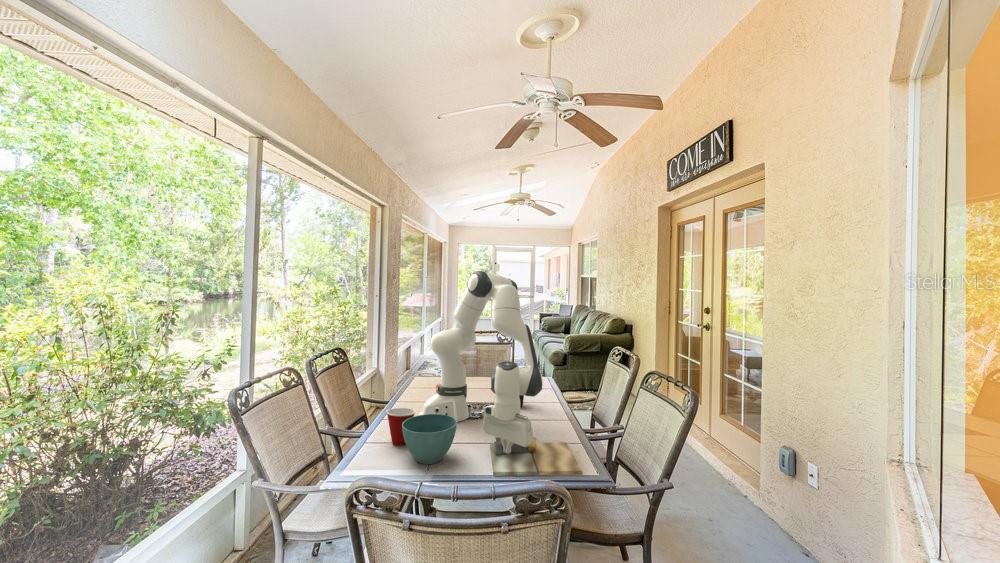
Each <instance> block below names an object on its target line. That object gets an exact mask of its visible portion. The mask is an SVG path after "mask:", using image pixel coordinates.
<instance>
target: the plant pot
mask: <svg viewBox="0 0 1000 563" xmlns="http://www.w3.org/2000/svg"><path fill="white" fill-rule="evenodd" d="M457 425H458V422H457V421H456V419H455V418H453V417H451V416H448V415H443V414H425V415H418V414H417V415H414V417H411V418H409V419H407V420H405V421H404V422H403V423H402V430H403V436H404V440H405V443H406V444H405V446H406V448H407V449H408V451H409V453H410V454H411V455H412V457H413V458H414V459H415V460H416V461H417V462H419V463H420V464H426V465H431V464H436V463H438V462H440V461H441V460H443V458H444V457H445V456H446V455H447V453H448V452H449V450H450V448H451V446H452V444H453V442H454V438H455V436H456V432H457Z"/></svg>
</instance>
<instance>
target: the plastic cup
mask: <svg viewBox="0 0 1000 563" xmlns="http://www.w3.org/2000/svg"><path fill="white" fill-rule="evenodd" d="M416 412H417V410H416V409H414V408H410V407H393V408H389V409H387V410H386V411H385V414H386V415H387V420H388V427H389V432H390V438H391V443H392V445H394V446H398V447H399V446H406V443H405V440H404V436H403V430H402V423H403V422H404V421H405V420H407V419H409V418H411V417H414V416H415V414H416Z"/></svg>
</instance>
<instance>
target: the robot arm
mask: <svg viewBox="0 0 1000 563" xmlns="http://www.w3.org/2000/svg"><path fill="white" fill-rule="evenodd" d="M466 286H467V287H465V290H464V291H463V293H462V295H461V297H460V299H459V301H458V303H457V305H456V308H455V310H454V312H453V317H454V321H455V322H454V325H453V327H452V328H449V329H445V330H440V331H439V332H437V333H435V334H434V335H432V336H431V339H430V348H431V351H432V352H433V354H435V355H436V356H437V358H438V361H439V366H440V383H439V382H438V383H436V384H435V387H436V390H435V391H436V392H435V394H433V395H432V396H431V397H429V398H428V399H427V400H426V401H425V402H424V404H423V408H422V410H421V411H420V412H418V414H417V416H418V415H425V414H443V415H448V416H451V417H453V418H455V419H456V421H457V423H458V422H461V421H464V420H467V419H468V418H469V417H470V413H469V409H468V402H467V397H468V384H467V367H466V365H465V364H464V363H463V361H462V358H461V353H463V352H466V351H468V350H470V349H472V348H473V347H474V346H475V344H476V341H477V337H476V329H477V324H478V323H479V320H480V317H481V316H482V314H483V312H484V309H485V307H486V305H487V302H488V301H489V302H490V301H491V323H492V326H493V328H494V329H495V331H496V332H498V333H499V334H501V335H502V336H505V337H508V338H510V339H513V340H514V341H517V342H518V343H520V345H521V346H522V349H523V352H524V353H523V354H524V357H525V358H524V359H525V363H526V367H519V365H518V363H516V362H514V361H511V360H510V361H509V360H507V361H500V362H498V363H497V364H496V366H495V369H494V371H493V372H492V373H491V374H490V382H491V383H490V385H491V386H490V387H491V388H490V391H492V393H493V394H494V396H495V397H494V403H492V404H490V405H486V406H484V407H483V413H484V415H483V419H482V420H483V422H482V423H483V424H482V425H483V426H482V427H483V431H484V433H486V434H487V435H490V436H493V437H495V438H496V437H498V438H501V443H502V445H503V451H504V452H505V453H507V454H509V453H511V447H512V445H513V443H515V444H518V445H520V446H523V447H527V446H530V445H531V444H532V443H533V437H534V436H533V429H532V427H533V426H532V421H531V420H530V419H529V417H528V416H526V415H525V416H524V415H522V414H521V408H520V398H519V395H524V397H534V398H535V397H536V396H537V395H538V394H540V393H541V392H542V390H543V385H544V382H543V377H542V373H541V370H540V368H539V363H538V358H537V353H536V352H537V351H536V349H535V343H534V338H533V336H532V332H531V329H530V326H529V325H528V324H526V323H525V322H524V321H523V319H522V316H521V302H520V297H519V296H520V295H519V293H518V290H519V288H518V285H517V282H515V281H514V280H513V279H512V278H507V277H505V276H503V275H500V274H495V273H491V272H486V271H483V270H476V271H475V270H474V271H473V272H471V274H470V276H469V278H468V279H467V284H466Z"/></svg>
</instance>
